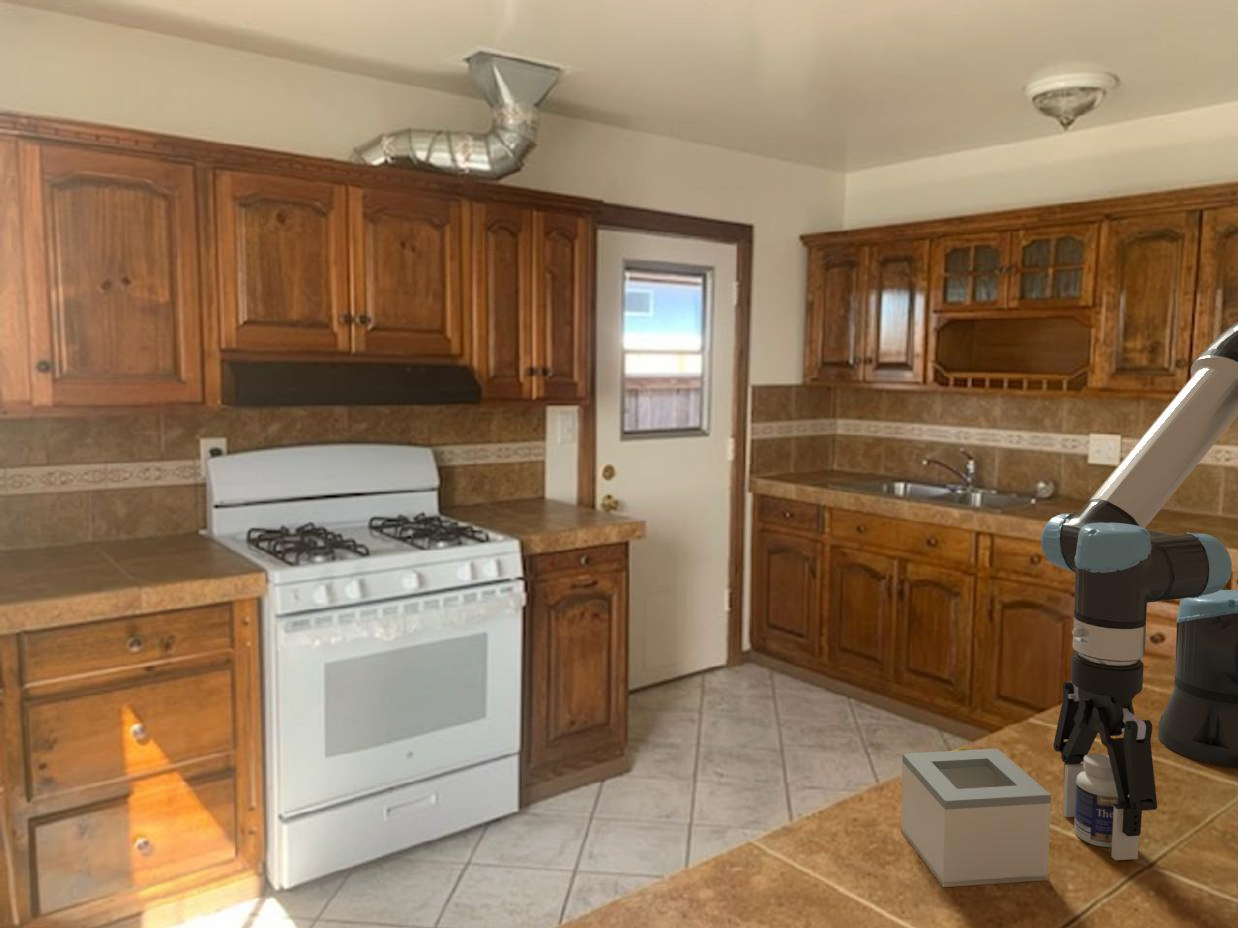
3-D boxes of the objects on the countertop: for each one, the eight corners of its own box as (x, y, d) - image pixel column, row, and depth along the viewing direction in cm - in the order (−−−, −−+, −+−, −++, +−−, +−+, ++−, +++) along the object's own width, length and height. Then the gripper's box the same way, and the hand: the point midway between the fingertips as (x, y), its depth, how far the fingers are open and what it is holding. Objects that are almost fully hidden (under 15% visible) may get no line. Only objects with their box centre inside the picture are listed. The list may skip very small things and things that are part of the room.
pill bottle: (1097, 852, 108) (1101, 772, 107) (1064, 829, 113) (1067, 753, 112) (1135, 844, 109) (1139, 766, 108) (1100, 822, 114) (1103, 747, 113)
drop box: (995, 825, 114) (997, 748, 113) (1047, 879, 102) (1050, 794, 101) (901, 831, 113) (902, 753, 112) (943, 886, 101) (945, 800, 100)
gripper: (1027, 628, 119) (1021, 793, 121) (1136, 690, 97) (1126, 889, 100) (1083, 626, 119) (1075, 790, 122) (1203, 687, 98) (1191, 885, 100)
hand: (1098, 835), depth 111 cm, fingers open, 9 cm apart
